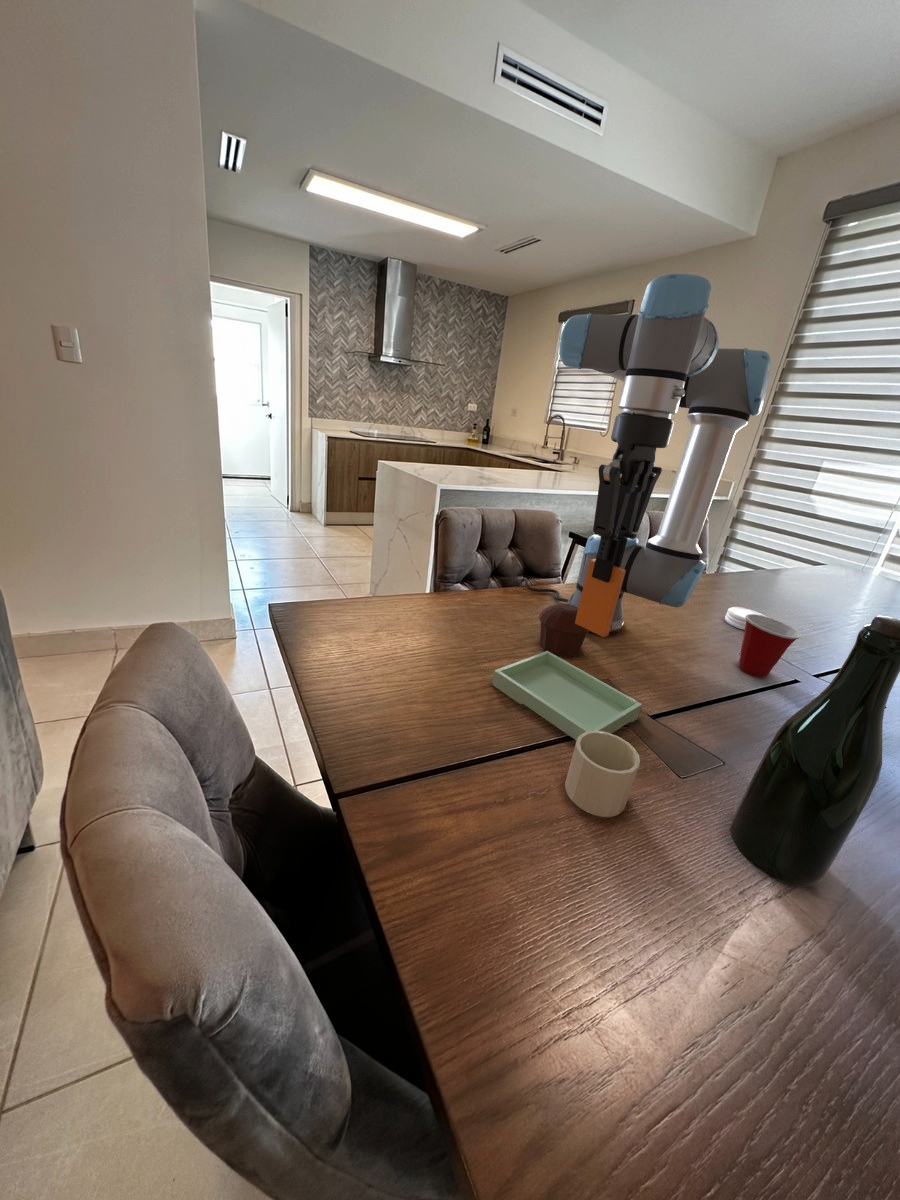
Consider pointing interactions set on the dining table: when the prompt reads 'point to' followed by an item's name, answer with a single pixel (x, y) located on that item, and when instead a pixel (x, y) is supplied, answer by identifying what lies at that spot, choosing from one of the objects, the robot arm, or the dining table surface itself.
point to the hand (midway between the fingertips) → (604, 578)
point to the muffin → (561, 630)
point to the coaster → (738, 616)
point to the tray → (566, 695)
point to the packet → (599, 601)
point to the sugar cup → (601, 773)
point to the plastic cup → (764, 644)
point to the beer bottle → (821, 766)
